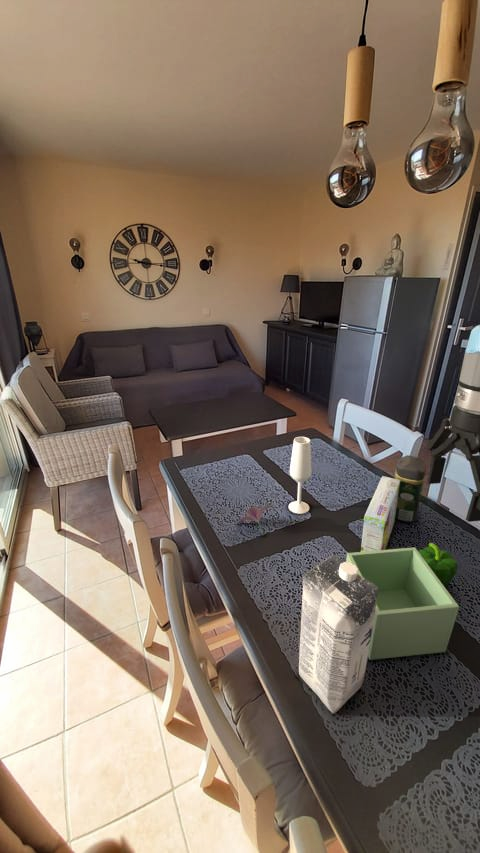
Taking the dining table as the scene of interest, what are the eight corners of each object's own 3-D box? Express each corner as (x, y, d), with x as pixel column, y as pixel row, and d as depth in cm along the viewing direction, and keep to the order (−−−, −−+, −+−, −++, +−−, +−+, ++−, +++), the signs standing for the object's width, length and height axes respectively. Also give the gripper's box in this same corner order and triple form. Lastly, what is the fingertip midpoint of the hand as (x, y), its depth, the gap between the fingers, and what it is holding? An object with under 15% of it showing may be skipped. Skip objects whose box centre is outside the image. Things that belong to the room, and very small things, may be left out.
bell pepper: (458, 596, 83) (468, 563, 79) (422, 596, 84) (430, 563, 80) (440, 568, 91) (449, 537, 87) (408, 568, 91) (414, 537, 87)
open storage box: (406, 588, 86) (414, 547, 81) (445, 652, 72) (459, 606, 66) (342, 594, 85) (346, 553, 80) (369, 660, 71) (377, 614, 65)
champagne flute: (286, 511, 114) (288, 443, 104) (290, 499, 120) (292, 434, 110) (308, 515, 112) (312, 446, 102) (310, 502, 118) (314, 436, 108)
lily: (280, 521, 111) (269, 492, 111) (282, 533, 99) (270, 501, 99) (243, 534, 112) (233, 505, 112) (241, 547, 100) (229, 515, 100)
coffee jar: (391, 501, 117) (399, 451, 110) (418, 508, 114) (428, 456, 106) (386, 518, 109) (395, 465, 102) (415, 526, 106) (426, 471, 98)
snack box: (375, 517, 110) (381, 474, 104) (394, 522, 108) (402, 479, 101) (357, 562, 94) (363, 515, 88) (379, 570, 91) (388, 522, 85)
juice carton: (334, 725, 61) (349, 612, 50) (291, 673, 69) (296, 566, 58) (367, 691, 65) (387, 581, 55) (323, 646, 73) (333, 542, 62)
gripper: (421, 389, 80) (406, 471, 89) (506, 437, 57) (474, 541, 66) (453, 387, 81) (435, 469, 89) (550, 434, 58) (513, 538, 67)
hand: (452, 500), depth 78 cm, fingers open, 13 cm apart
